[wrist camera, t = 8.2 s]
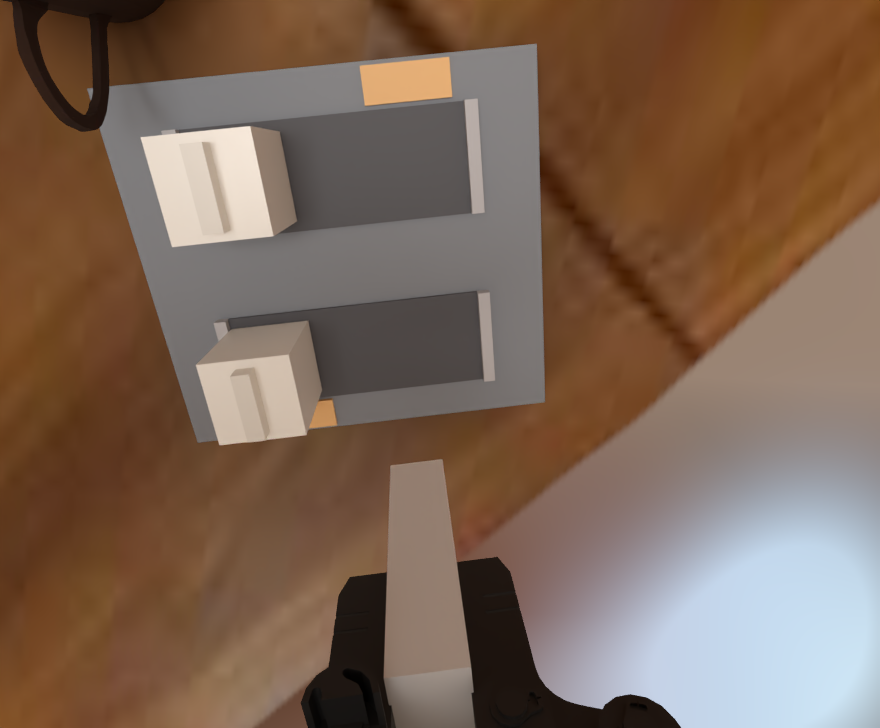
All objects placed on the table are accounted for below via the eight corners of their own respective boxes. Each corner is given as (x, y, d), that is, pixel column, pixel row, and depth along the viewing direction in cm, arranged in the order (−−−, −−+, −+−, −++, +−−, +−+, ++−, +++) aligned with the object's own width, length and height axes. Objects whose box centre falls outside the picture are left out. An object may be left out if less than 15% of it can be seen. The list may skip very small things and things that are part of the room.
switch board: (209, 425, 32) (193, 448, 29) (110, 93, 25) (79, 86, 22) (536, 387, 32) (547, 406, 30) (526, 51, 25) (539, 41, 23)
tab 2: (214, 230, 25) (163, 250, 20) (191, 140, 24) (130, 136, 18) (297, 221, 25) (268, 239, 20) (279, 131, 24) (243, 124, 18)
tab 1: (249, 398, 29) (213, 454, 23) (231, 329, 27) (188, 372, 22) (322, 390, 29) (303, 444, 23) (308, 320, 27) (284, 361, 22)
